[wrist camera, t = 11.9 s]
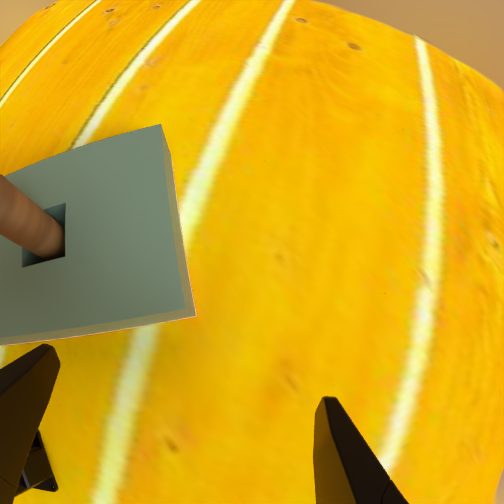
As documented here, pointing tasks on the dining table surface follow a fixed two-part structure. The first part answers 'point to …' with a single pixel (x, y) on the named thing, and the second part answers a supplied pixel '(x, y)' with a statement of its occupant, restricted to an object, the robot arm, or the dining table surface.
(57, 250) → the pin
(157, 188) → the board
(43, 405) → the robot arm
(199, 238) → the dining table surface
